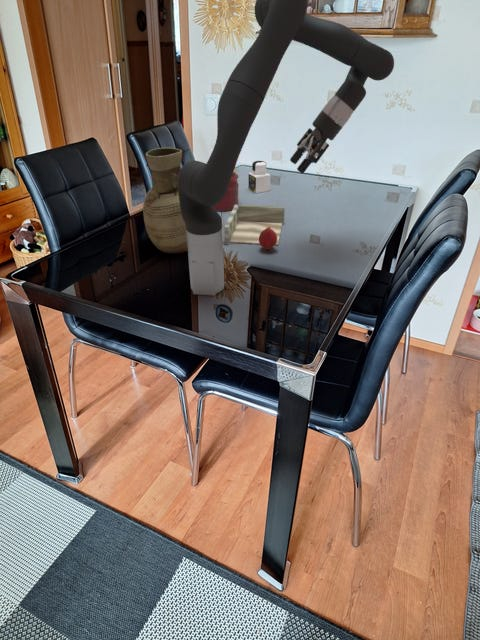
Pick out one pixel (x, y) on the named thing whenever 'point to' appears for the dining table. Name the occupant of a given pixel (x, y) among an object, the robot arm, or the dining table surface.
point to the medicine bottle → (259, 177)
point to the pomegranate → (267, 238)
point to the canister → (229, 195)
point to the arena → (252, 223)
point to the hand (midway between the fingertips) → (295, 166)
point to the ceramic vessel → (165, 202)
